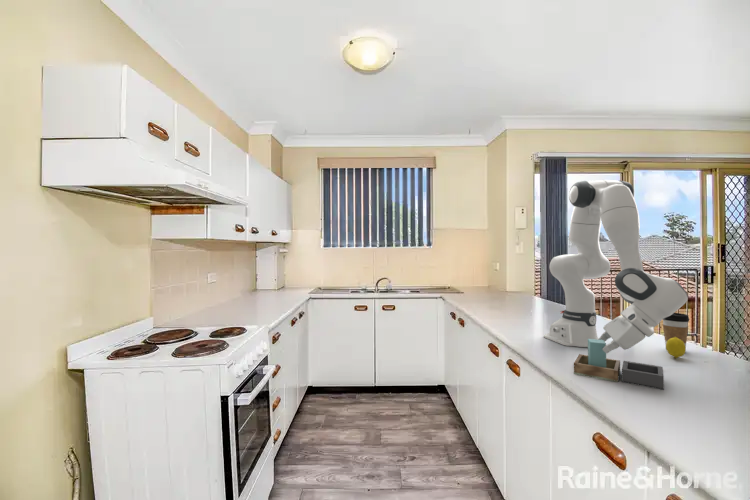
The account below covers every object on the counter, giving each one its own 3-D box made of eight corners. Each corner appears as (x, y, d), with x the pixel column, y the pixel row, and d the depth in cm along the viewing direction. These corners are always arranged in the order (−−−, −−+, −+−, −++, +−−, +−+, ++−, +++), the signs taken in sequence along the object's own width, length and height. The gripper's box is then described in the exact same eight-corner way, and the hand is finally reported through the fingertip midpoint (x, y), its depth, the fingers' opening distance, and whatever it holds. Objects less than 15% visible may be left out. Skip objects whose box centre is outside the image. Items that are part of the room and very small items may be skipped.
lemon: (689, 361, 124) (689, 339, 124) (672, 360, 126) (671, 338, 125) (679, 356, 130) (679, 335, 130) (662, 355, 131) (662, 334, 131)
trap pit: (621, 381, 107) (621, 369, 107) (623, 372, 114) (623, 360, 114) (663, 389, 100) (663, 376, 100) (662, 379, 108) (662, 366, 108)
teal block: (588, 367, 118) (587, 338, 118) (603, 369, 116) (603, 339, 116) (590, 371, 114) (590, 342, 114) (606, 373, 112) (606, 343, 112)
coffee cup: (660, 346, 143) (660, 310, 143) (687, 349, 138) (687, 312, 138) (663, 351, 136) (662, 313, 136) (691, 354, 131) (691, 315, 131)
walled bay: (573, 373, 114) (573, 363, 114) (579, 363, 123) (579, 354, 123) (617, 382, 106) (617, 370, 106) (620, 371, 116) (620, 360, 116)
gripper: (620, 307, 121) (588, 332, 125) (637, 319, 102) (598, 348, 106) (635, 320, 119) (602, 345, 123) (655, 335, 100) (616, 364, 104)
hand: (600, 346), depth 114 cm, fingers open, 8 cm apart
